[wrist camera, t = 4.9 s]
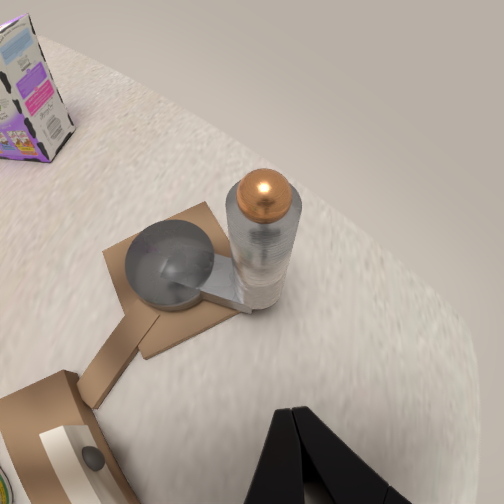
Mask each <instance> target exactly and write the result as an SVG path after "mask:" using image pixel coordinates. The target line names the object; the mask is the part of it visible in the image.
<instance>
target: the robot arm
mask: <svg viewBox="0 0 504 504" xmlns="http://www.w3.org/2000/svg"><path fill="white" fill-rule="evenodd" d="M388 486H389V484H388V483H387V482H386V481H385V480H384V479H383V478H382V477H380V476H379V475H378V474H377V473H376V472H375V471H374V470H373V469H372V468H371V467H369V466H368V465H367V464H366V463H365V462H364V461H363V460H362V459H361V458H360V457H359V456H358V455H357V454H355V453H354V452H353V451H352V450H351V449H350V448H349V447H348V446H347V445H346V444H345V443H344V442H343V441H342V440H341V439H340V438H339V437H338V436H337V435H336V434H335V433H334V432H333V431H332V430H331V429H330V428H329V427H327V426H326V425H325V424H324V423H323V422H322V421H321V420H320V419H319V418H318V417H317V416H316V415H315V414H314V413H313V412H312V411H311V410H310V409H309V408H308V407H307V406H301V407H294V408H292V409H290V408H285V409H277V410H275V412H274V415H273V418H272V421H271V425H270V428H269V431H268V434H267V437H266V440H265V443H264V446H263V449H262V453H261V456H260V459H259V462H258V464H257V467H256V470H255V473H254V476H253V479H252V482H251V485H250V488H249V490H248V493H247V496H246V499H245V501H244V504H412V503H411V502H410V501H408V500H407V499H406V498H405V497H403V496H402V495H401V494H400V493H399V492H397V491H396V490H395V489H394V488H393V487H392V486H389V487H388Z"/></svg>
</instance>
